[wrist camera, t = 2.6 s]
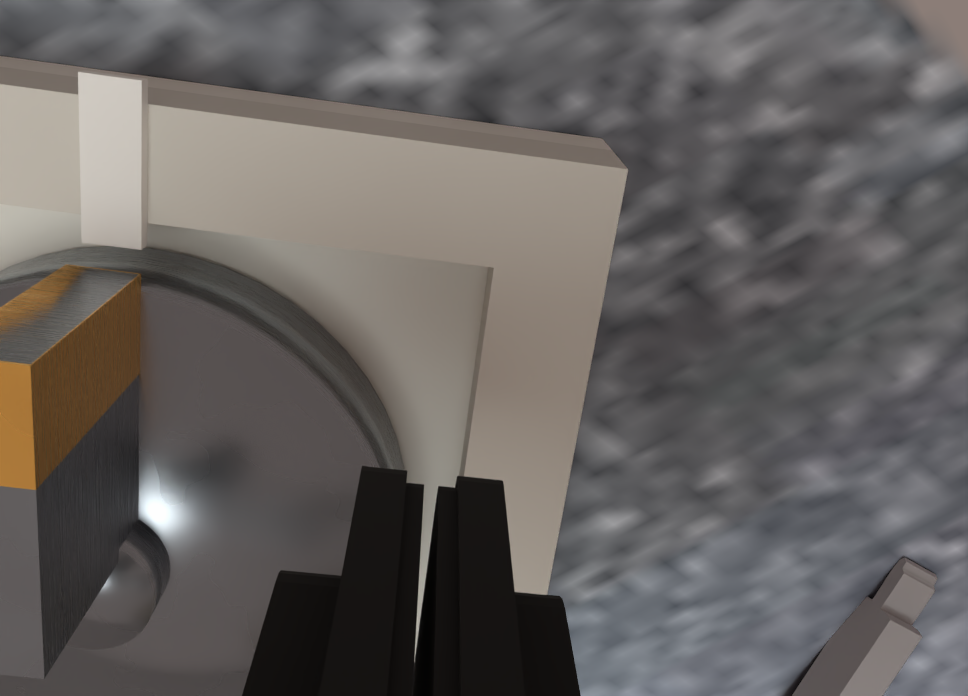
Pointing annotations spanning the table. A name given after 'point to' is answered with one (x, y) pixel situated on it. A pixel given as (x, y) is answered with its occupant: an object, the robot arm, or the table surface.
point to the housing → (354, 251)
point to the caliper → (873, 638)
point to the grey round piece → (164, 468)
